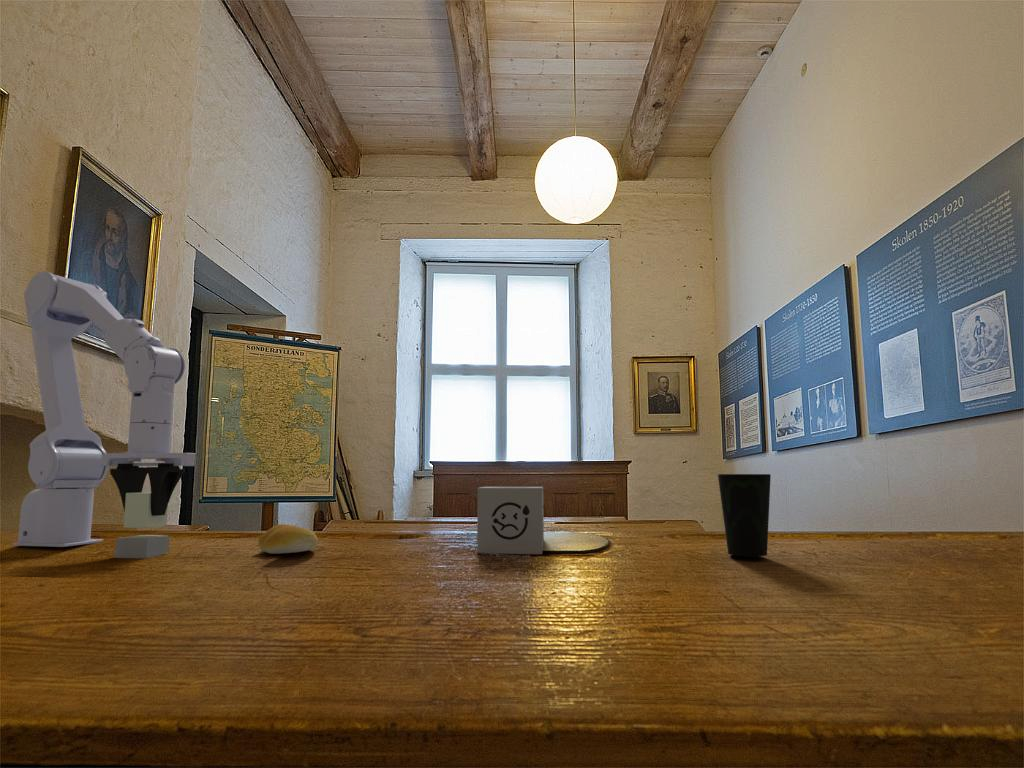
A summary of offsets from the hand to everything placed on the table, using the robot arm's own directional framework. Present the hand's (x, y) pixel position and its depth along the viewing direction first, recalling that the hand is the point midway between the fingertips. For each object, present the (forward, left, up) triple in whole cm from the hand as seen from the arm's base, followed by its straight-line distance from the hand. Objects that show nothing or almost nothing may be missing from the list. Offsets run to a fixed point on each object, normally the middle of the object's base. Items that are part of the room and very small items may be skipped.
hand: (144, 515), depth 101 cm
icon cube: (+52, +20, -6) cm, 56 cm away
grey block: (0, 0, -6) cm, 6 cm away
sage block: (0, 0, -2) cm, 2 cm away
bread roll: (+23, +7, -6) cm, 25 cm away
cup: (+88, +21, -6) cm, 91 cm away
